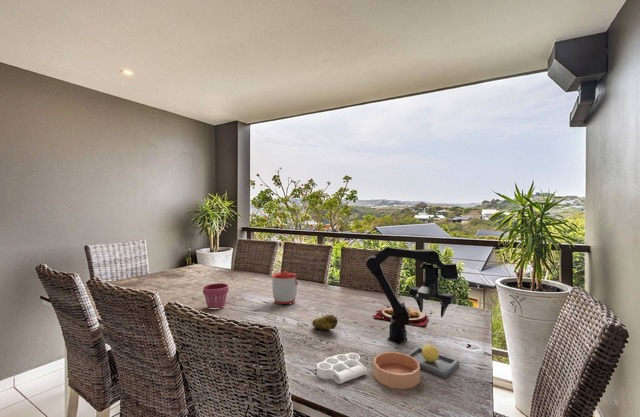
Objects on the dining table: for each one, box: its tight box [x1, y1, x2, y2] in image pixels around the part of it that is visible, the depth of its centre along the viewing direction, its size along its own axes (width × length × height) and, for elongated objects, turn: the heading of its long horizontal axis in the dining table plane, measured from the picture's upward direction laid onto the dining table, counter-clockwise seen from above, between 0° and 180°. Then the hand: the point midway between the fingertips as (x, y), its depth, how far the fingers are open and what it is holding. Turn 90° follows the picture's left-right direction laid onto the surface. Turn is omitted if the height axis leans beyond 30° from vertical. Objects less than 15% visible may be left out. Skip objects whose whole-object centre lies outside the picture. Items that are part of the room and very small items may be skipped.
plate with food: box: [372, 306, 433, 327], centre depth 166 cm, size 25×26×4 cm
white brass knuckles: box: [316, 352, 368, 385], centre depth 110 cm, size 3×18×15 cm
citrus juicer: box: [271, 269, 301, 305], centre depth 190 cm, size 16×17×20 cm
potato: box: [311, 314, 338, 331], centre depth 147 cm, size 8×13×8 cm, turn 36°
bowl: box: [372, 351, 421, 390], centre depth 107 cm, size 16×16×4 cm
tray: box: [406, 346, 460, 379], centre depth 115 cm, size 16×12×2 cm
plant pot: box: [202, 282, 230, 309], centre depth 181 cm, size 14×14×13 cm
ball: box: [422, 344, 440, 363], centre depth 115 cm, size 6×6×6 cm
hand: (431, 314), depth 133 cm, fingers open, 9 cm apart
